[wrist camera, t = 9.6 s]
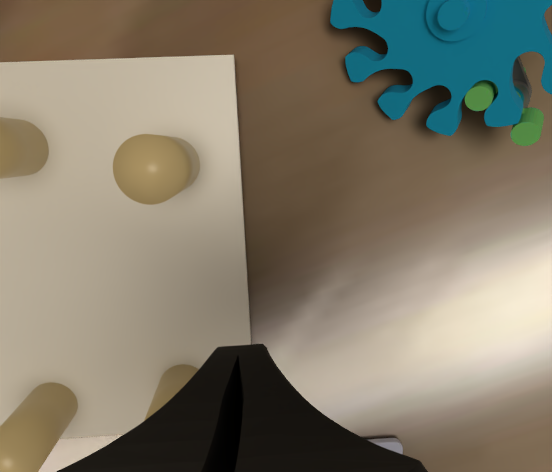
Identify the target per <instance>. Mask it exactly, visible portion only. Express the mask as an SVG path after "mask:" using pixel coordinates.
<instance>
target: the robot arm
mask: <svg viewBox="0 0 552 472" xmlns="http://www.w3.org/2000/svg"><path fill="white" fill-rule="evenodd" d="M57 472H428V471H427V470H426V469H425V467H424V466H423V465H422V463H421V462H420V461H419V460H416V459H413V458H411V457H408V456H405V455H403V447H402V444H401V442H400V441H399V440H398V439H396V438H383V439H370V440H366V439H364V438H362V437H360V436H358V435H356V434H354V433H352V432H350V431H349V430H347V429H345V428H343V427H342V426H340V425H339V424H337V423H336V422H334V421H333V420H331V419H329V418H328V417H326V416H325V415H324V414H322V413H321V412H320V411H318V410H317V409H316V408H315V407H313V406H312V405H311V404H310V403H309V402H308V401H307V400H306V399H305V398H304V397H302V396H301V394H300V393H299V392H298V391H297V390H296V389H295V388H294V387H293V386H292V385H291V384H290V382H289V381H288V380H287V379H286V378H285V376H284V375H283V374H282V372H281V371H280V370H279V368H278V367H277V366H276V364H275V363H274V361H273V359H272V358H271V356H270V354H269V352H268V350H267V347H265V346H264V345H263V344H252V345H237V346H221V347H217V348H216V349H215V350H214V351H213V353H212V354H211V355H210V356H209V358H208V359H207V360H206V361H205V363H204V364H203V365H202V366H201V367H200V369H199V370H198V371H197V372H196V373H195V374H194V376H193V377H192V378H191V379H190V380H189V381H188V382H187V383H186V384H185V386H184V387H183V388H182V389H181V390H180V391H179V392H178V393H176V394H175V395H174V396H173V397H172V398H171V399H170V400H169V401H168V402H167V403H166V404H165V405H164V406H162V407H161V408H160V409H159V410H158V411H156V412H155V413H154V414H153V415H151V416H150V417H149V418H147V419H146V420H145V421H143V422H142V423H141V424H139V425H138V426H136V427H135V428H133V429H132V430H130V431H129V432H127V433H126V434H124V435H123V436H121V437H119V438H118V439H116V440H115V441H113V442H112V443H110V444H109V445H107V446H105V447H103V448H102V449H100V450H98V451H96V452H94V453H93V454H91V455H89V456H87V457H85V458H83V459H81V460H79V461H77V462H75V463H73V464H71V465H69V466H67V467H65V468H63V469H61V470H59V471H57Z"/></svg>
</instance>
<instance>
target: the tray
mask: <svg viewBox="0 0 552 472" xmlns="http://www.w3.org/2000/svg"><path fill="white" fill-rule="evenodd" d="M237 345H251V328H250V312H249V295H248V278H247V261H246V244H245V227H244V210H243V193H242V176H241V159H240V142H239V125H238V109H237V92H236V75H235V59H234V55H213V56H183V57H152V58H122V59H92V60H61V61H31V62H1V63H0V472H38V471H39V469H40V468H41V466H42V465H43V463H44V462H45V460H46V458H47V457H48V455H49V454H50V452H51V451H52V449H53V448H54V446H55V445H56V443H57V442H58V440H59V439H68V438H82V437H96V436H109V435H123V434H126V433H127V432H129V431H130V430H132V429H133V428H135V427H136V426H138V425H139V424H141V423H142V422H143V421H145V420H146V419H147V418H149V417H150V416H151V415H153V414H154V413H155V412H156V411H158V410H159V409H160V408H161V407H162V406H164V405H165V404H166V403H167V402H168V401H169V400H170V399H171V398H172V397H173V396H174V395H175V394H176V393H178V392H179V391H180V390H181V389H182V388H183V387H184V386H185V384H186V383H187V382H188V381H189V380H190V379H191V378H192V377H193V376H194V374H195V373H196V372H197V371H198V370H199V369H200V367H201V366H202V365H203V364H204V363H205V361H206V360H207V359H208V358H209V356H210V355H211V354H212V353H213V351H214V350H215V349H216V348H217V347H221V346H237Z"/></svg>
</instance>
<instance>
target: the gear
mask: <svg viewBox="0 0 552 472" xmlns="http://www.w3.org/2000/svg"><path fill="white" fill-rule="evenodd" d="M381 1H382V6H381V10H380V12H371V11H370V10H368V9H367V7H366V6H365V4H364V2H363V0H334V1H333V5H332V10H331V19H330V23H331V24H332V25H333V26H334V27H336V28H339V29H345V28H349V27H362V28H365V29H369V30H371V31H372V32H374V33H376V34H378V35H379V36H381V37H382V38H383V39H385V41H386V42H387V45H388V52H387V54H378V53H376V52H375V51H373V50H372V49H370V48H368V47H366V46H359V47H356V48H354V49H353V50H352V51H351V52H350V53H349V54H348V55H347V56H346V57H345V63H346V68H347V72H348V75H349V77H350V80H351V81H352V82H362V81H363V80H365V79H366V78H367V77H368V76H370V75H371V74H373V73H374V72H377V71H379V70H383V69H404V70H406V71H408V72H409V73H410V74H411V75H412V78H413V84H411V85H393V86H390V87H388V88H387V89H386V90H385V92H384V93H383V94H382V95H381V97H380V98H379V100H378V104H379V106H380V108H381V109H382V110H383V111H384V112H385V114H386V115H388V116H389V117H390V118H391V119H392V120H396V119H399V118H400V117H402V116H403V114H404V113H405V111H406V110H407V108H408V107H409V105H410V103H411V101H412V99H413V98H414V97H415V96H417V95H418V94H419V93H421V92H423V91H424V90H426V89H429V88H431V87H433V86H436V85H443V86H445V87H447V88H448V89H449V90H450V92H451V96H452V97H451V98H450V99H448V100H446V101H444V102H442V103H439V104H438V105H436V106H435V107H434V108H433V110H432V112H431V113H430V115H429V117H428V119H427V122H426V126H427V127H428V128H429V129H431V130H433V131H435V132H437V133H440V134H444V135H448V136H451V135H452V134H454V132H455V131H456V130H457V127H458V125H459V123H460V121H461V119H462V111H461V108H462V101H463V98H464V96H465V95H466V96H465V104H466V105H467V107H468V108H469V109H471V110H474V111H482V110H485V109H486V108H487V109H486V111H485V114H484V120H485V123H486V124H487V126H492V127H501V126H508V125H513V128H512V131H511V139H512V140H513V141H514V142H515V143H516V144H518V145H522V146H528V145H531V144H533V143H535V142H536V141H537V140H538V139H539V138H540V135H541V130H542V125H543V120H544V116H543V113H542V112H541V111H540V110H539V109H536V108H527V106H528V104H529V101H530V97H531V93H532V90H531V85H530V83H529V80H528V78H527V75H526V70H525V68H524V67H523V65H522V62H521V60H520V57H519V55H521V54H522V53H525V52H529V51H534V52H538V53H540V54H541V55H542V56H543V57H544V59H545V66H544V70H543V74H542V79H541V83H542V86H543V88H544V89H545V91H547V92H548V93H550V94H552V35H551V33H550V31H549V29H548V26H547V23H546V21H545V17H544V13H545V11H546V10H547V9H548V8H549V7H550V6H551V5H552V0H381Z"/></svg>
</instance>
